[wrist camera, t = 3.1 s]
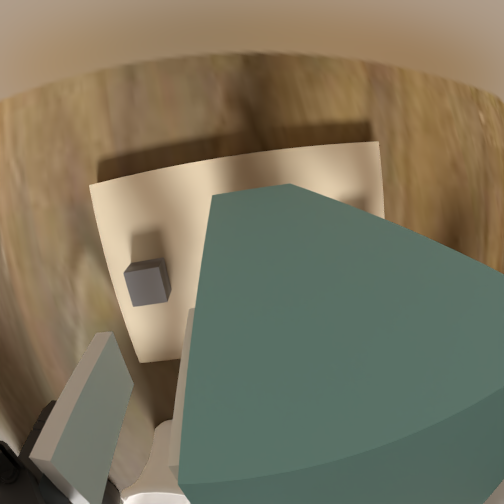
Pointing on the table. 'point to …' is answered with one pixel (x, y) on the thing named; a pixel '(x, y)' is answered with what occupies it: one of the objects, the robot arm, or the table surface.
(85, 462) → the robot arm
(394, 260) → the teal rectangular panel
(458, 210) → the table surface
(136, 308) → the post base
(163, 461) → the cup
